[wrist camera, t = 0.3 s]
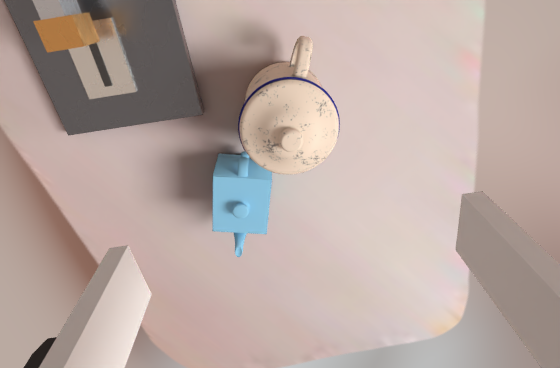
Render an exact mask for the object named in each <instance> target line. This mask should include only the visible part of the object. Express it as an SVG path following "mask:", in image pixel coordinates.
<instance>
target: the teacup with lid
mask: <svg viewBox="0 0 560 368" xmlns="http://www.w3.org/2000/svg"><path fill="white" fill-rule="evenodd" d="M312 47H313V44H312V40H311V39H310V38H309V37H305V36H301V37H299V38H298V39H297V41H296V44H295V46H294V49H293V53H292V57H291V61H290V62H281V63H275V64H272V65H269V66H267V67H265V68H264V69H262V70H261V71H260V72H259V73H257V74H256V76H255V77H254V78H253V79H252V81H251V82H250V84H249V86H248V89H247V92H246V97H245V103H244V105H243V107H242V109H241V112H240V116H239V122H238V131H239V137H240V141H241V144H242V146H243V148H244V150H245V151H246V153H247V154H248V156H249V157H250V158H251V159H252V160H253V161H254V162H255V163H256V164H258V165H259V166H261V167H262V168H264V169H266V170H268V171H271V172H274V173H278V174H298V173H302V172H305V171H308V170H310V169H312V168H314V167H316V166H317V165H319V164H320V163H321V162H322V161H324V160H325V159H326V157H327V156H328V155H329V154H330V153H331V151H332V149H333V148H334V146H335V143H336V141H337V138H338V134H339V128H340V120H339V114H338V110H337V107H336V105H335V103H334V101H333V100H332V98H331V97H330V95H329V94H328V93H327V92H326V91H325V90H324V89H323V88H322V86H321V84H320V83H319V81H318V79H317V78H316V77H315V75H314V74H313V73H312V72H310V71H309V70H308V69H309V65H310V60H311V55H312Z"/></svg>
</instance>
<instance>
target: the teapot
mask: <svg viewBox="0 0 560 368" xmlns="http://www.w3.org/2000/svg"><path fill="white" fill-rule="evenodd" d="M271 182H272V172H271V171H268V170H266V169H264V168H262V167H261V166H259V165H258V164H256V163H255V162H254V161H253V160H252V159H251V158H250V157H249V156H248V154H247V153H246V152H242V153H241V155H234V154H220V153H219V155H218V158H217V162H216V165H215V169H214V173H213V231H219V232H234V237H235V254H236V256H237V257H240V256H241V255H242V251H243V244H244V240H245V237H246V234H247V233H255V234H267V224H268V214H269V203H270V193H271Z"/></svg>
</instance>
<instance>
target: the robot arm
mask: <svg viewBox="0 0 560 368" xmlns="http://www.w3.org/2000/svg"><path fill="white" fill-rule="evenodd" d="M456 251H457V252H458V254H459V255H460V256H461V258H462V259H463V261H464V262H465V263H466V265H467V266H468V268H469V269H470V270H471V272H472V273H473V274H474V276H475V277H476V278H477V280H478V281H479V283H480V284H481V285H482V287H483V288H484V290H485V291H486V292H487V294H488V295H489V296H490V298H491V299H492V301H493V302H494V303H495V305H496V306H497V308H498V309H499V310H500V312H501V313H502V315H503V316H504V317H505V319H506V320H507V321H508V323H509V324H510V326H511V327H512V328H513V330H514V331H515V332H516V334H517V335H518V337H519V338H520V339H521V341H522V342H523V343H524V345H525V346H526V348H527V349H528V350H529V352H530V353H531V354H532V356H533V357H534V359H535V360H536V361H537V363H538V364H539V366H540V367H541V368H560V264H559V263H558V262H557V261H556V260H555V259H554V258H553V257H552V256H550V254H548V253H547V252H546V251H545V250H544V249H543V248H542V247H541V246H540V245H539V244H538V243H537V242H536V241H535V240H534V239H533V238H532V237H531V236H529V235H528V234H527V233H526V232H525V231H524V230H523V229H522V228H521V227H520V226H519V225H518V224H517V223H516V222H515V221H514V220H513V219H511V218H510V217H509V216H508V215H507V214H506V213H505V212H504V211H503V210H502V209H501V208H500V207H499V206H497V204H495V203H494V202H493V201H492V200H491V199H490V198H489V197H488V196H487V195H486V194H485V193H484V192H483V191H481V192H474V193H468V194H462V199H461V208H460V216H459V225H458V234H457V242H456ZM150 297H151V292H150V290H149V288H148V286H147V284H146V282H145V280H144V278H143V276H142V273H141V271H140V269H139V267H138V265H137V263H136V261H135V259H134V257H133V255H132V253H131V251H130V249H129V246H121V247H115V248H109V250H108V252H107V253H106V255H105V257H104V258H103V260H102V262H101V263H100V265H99V267H98V269H97V270H96V272H95V274H94V275H93V277H92V279H91V281H90V282H89V284H88V286H87V287H86V289H85V291H84V292H83V294H82V296H81V297H80V299H79V301H78V302H77V304H76V306H75V307H74V309H73V311H72V313H71V314H70V316H69V318H68V319H67V321H66V323H65V324H64V326H63V328H62V330H61V331H60V333H59V335H58V336H57V337H55V338H49V339H47V340H46V341H45V342H44V343H43V344H42V345H41V346H40V347H39V348H38V349H37V350H36V351H35V352H34V353H33V354H32V355H31V357H30V359H29V360H28V362H27V363H26V365H25V366H24V368H125V365H126V363H127V360H128V357H129V354H130V352H131V349H132V346H133V343H134V341H135V338H136V335H137V332H138V330H139V327H140V324H141V322H142V319H143V316H144V313H145V311H146V308H147V305H148V302H149V300H150Z"/></svg>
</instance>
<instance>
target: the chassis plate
mask: <svg viewBox="0 0 560 368" xmlns="http://www.w3.org/2000/svg"><path fill="white" fill-rule="evenodd" d="M4 1H5V3H6V5H7V7H8V9H9V11H10V13H11V15H12V17H13V20H14V22H15V24H16V26H17V28H18V30H19V32H20V34H21V36H22V39H23V41H24V43H25V45H26V47H27V49H28V51H29V53H30V55H31V58H32V60H33V62H34V64H35V66H36V68H37V70H38V72H39V74H40V77H41V79H42V81H43V83H44V85H45V87H46V89H47V91H48V93H49V96H50V98H51V100H52V102H53V104H54V106H55V108H56V110H57V112H58V115H59V117H60V119H61V121H62V123H63V125H64V127H65V129H66V131H67V134H68V135H74V134H80V133H87V132H93V131H100V130H106V129H113V128H119V127H126V126H132V125H139V124H145V123H152V122H158V121H165V120H171V119H177V118H184V117H190V116H197V115H202V114H203V112H204V109H203V105H202V101H201V98H200V94H199V90H198V86H197V82H196V78H195V75H194V71H193V67H192V63H191V59H190V55H189V51H188V48H187V44H186V40H185V36H184V32H183V28H182V24H181V21H180V17H179V13H178V9H177V5H176V1H175V0H77V2H78V4H79V7H80V9H81V12H82V13H88V12H89V13H90V16H91V19H92V21H93V24H94V27H95V29H96V32H97V35H98V37H99V40H100V41H99V42H96V43H93V44H90V45H87V46H84V47H78V48H72V49H66V50H60V51H54V52H48V53H47V51H46V49H45V47H44V44H43V42H42V40H41V38H40V36H39V33H38V31H37V29H36V27H35V24H34V22H33V21H38V20H41V19H40V17H39V14H38V12H37V10H36V7H35V5H34V3H33V1H32V0H4Z"/></svg>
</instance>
